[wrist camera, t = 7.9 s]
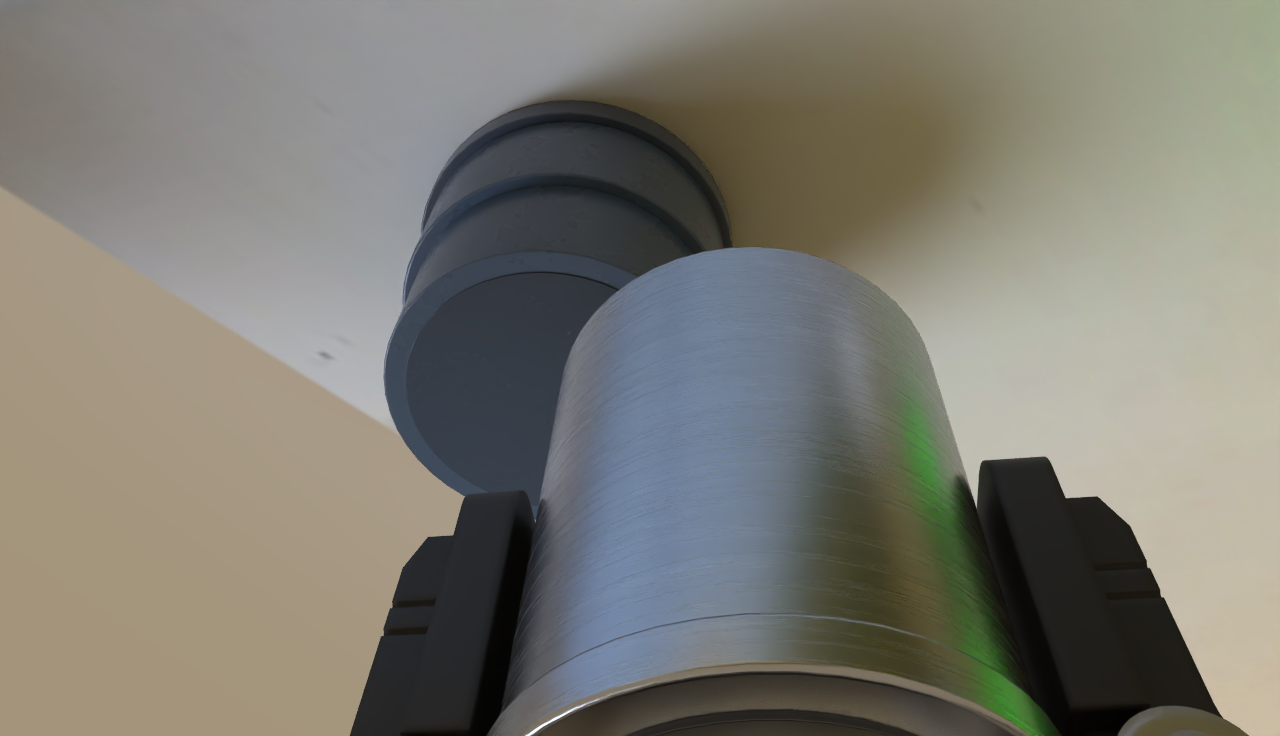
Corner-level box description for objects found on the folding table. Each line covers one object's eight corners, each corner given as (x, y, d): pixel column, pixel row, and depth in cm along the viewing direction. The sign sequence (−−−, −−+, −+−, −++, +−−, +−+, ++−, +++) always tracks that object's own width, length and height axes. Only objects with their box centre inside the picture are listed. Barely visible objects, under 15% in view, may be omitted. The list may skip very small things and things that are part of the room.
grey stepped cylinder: (465, 383, 46) (415, 549, 37) (390, 120, 39) (309, 252, 31) (744, 358, 44) (755, 524, 36) (716, 81, 37) (723, 208, 29)
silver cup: (583, 558, 17) (525, 1022, 12) (515, 255, 14) (386, 691, 8) (938, 536, 17) (1063, 1018, 11) (952, 214, 13) (1140, 657, 8)
